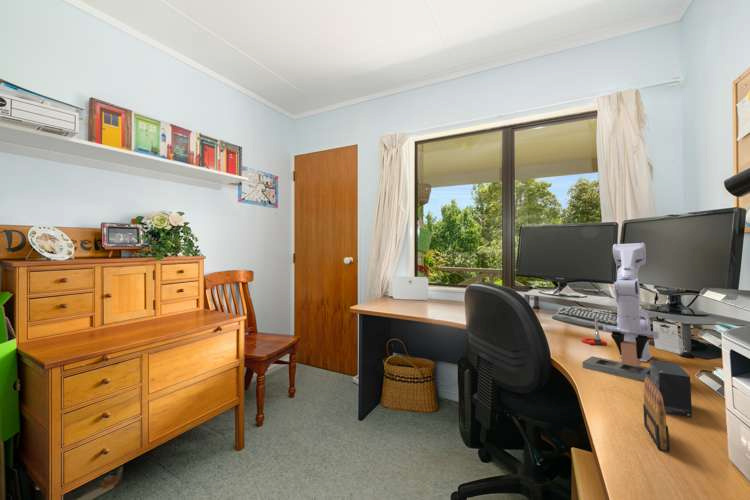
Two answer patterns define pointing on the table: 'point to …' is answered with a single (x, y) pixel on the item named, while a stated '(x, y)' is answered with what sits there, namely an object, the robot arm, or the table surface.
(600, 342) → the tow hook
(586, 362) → the grey slotted board
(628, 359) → the peg
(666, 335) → the ink box
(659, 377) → the small box
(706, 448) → the table surface
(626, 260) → the robot arm
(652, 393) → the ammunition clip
